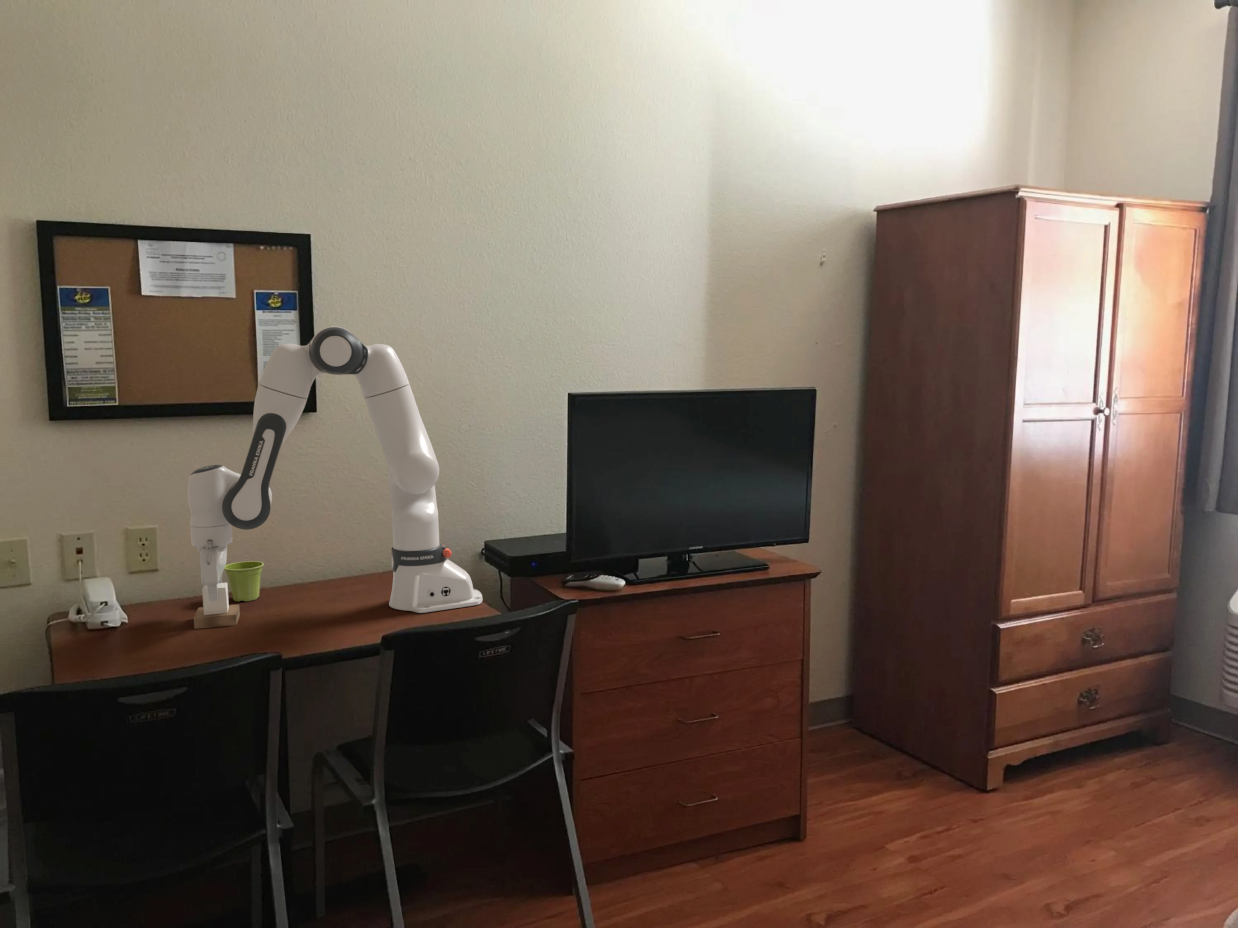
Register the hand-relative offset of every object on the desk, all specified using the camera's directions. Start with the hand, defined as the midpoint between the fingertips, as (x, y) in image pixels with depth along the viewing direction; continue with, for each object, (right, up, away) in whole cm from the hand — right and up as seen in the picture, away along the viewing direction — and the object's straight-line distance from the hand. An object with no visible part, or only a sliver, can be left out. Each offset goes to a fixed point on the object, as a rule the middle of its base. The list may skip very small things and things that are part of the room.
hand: (215, 594), depth 235 cm
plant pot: (-1, -4, +20) cm, 21 cm away
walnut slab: (0, -7, +1) cm, 7 cm away
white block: (0, -4, 0) cm, 4 cm away
